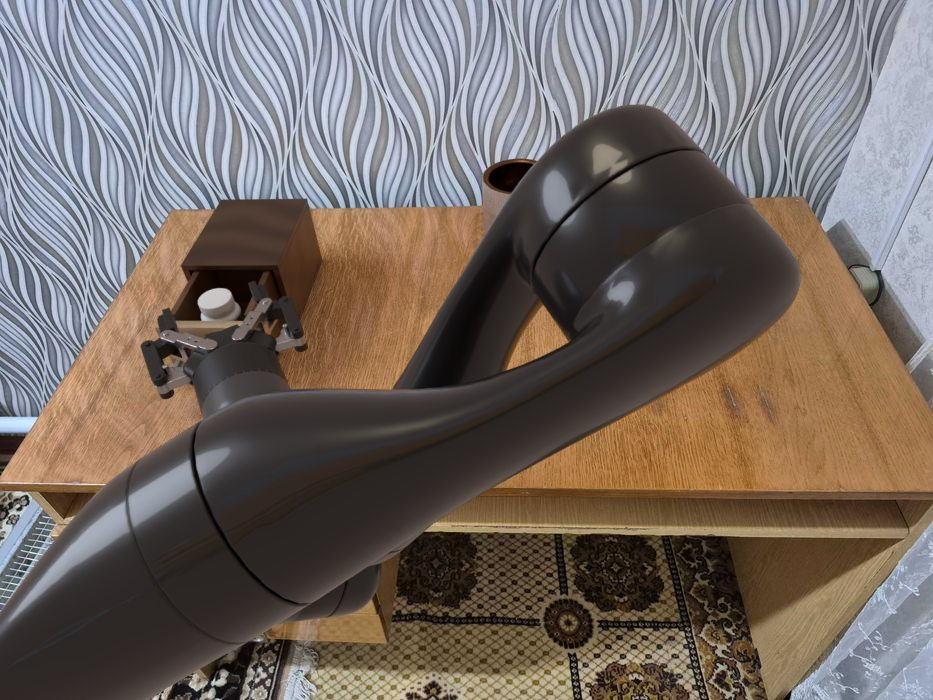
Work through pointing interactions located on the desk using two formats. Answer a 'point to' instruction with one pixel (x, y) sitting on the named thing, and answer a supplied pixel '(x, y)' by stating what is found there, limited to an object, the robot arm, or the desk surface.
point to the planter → (501, 185)
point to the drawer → (232, 280)
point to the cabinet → (261, 243)
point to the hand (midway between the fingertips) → (211, 301)
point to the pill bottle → (219, 306)
